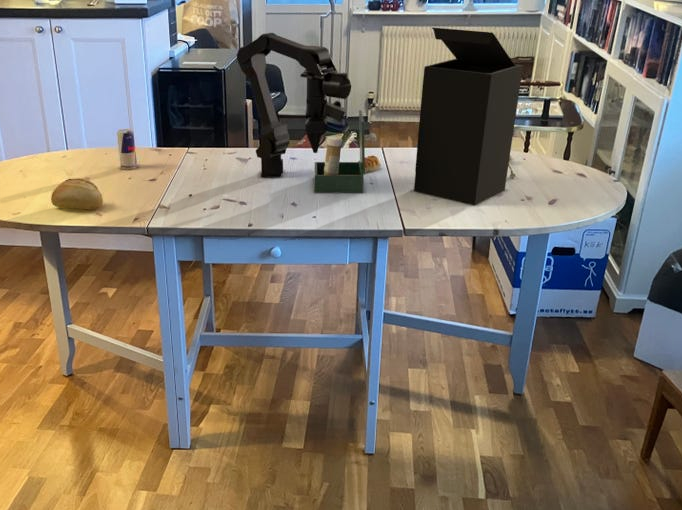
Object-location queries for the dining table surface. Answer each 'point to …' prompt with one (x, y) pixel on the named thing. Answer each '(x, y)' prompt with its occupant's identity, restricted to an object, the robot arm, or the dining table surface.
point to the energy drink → (126, 149)
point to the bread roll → (77, 194)
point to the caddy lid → (363, 138)
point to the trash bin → (467, 118)
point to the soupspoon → (511, 168)
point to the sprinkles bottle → (332, 156)
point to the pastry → (371, 163)
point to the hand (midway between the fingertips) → (315, 148)
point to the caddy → (339, 178)
